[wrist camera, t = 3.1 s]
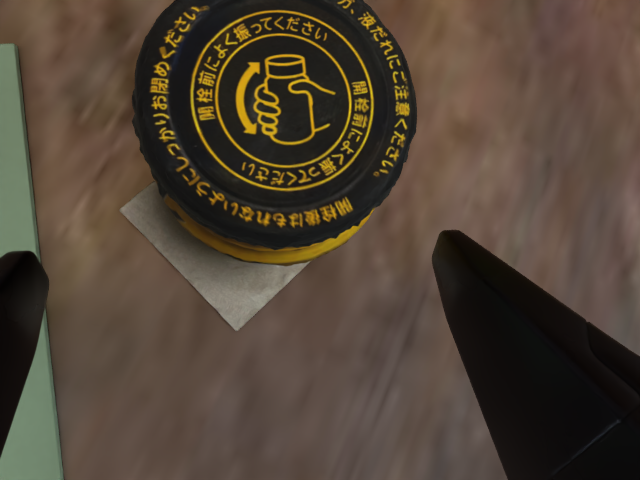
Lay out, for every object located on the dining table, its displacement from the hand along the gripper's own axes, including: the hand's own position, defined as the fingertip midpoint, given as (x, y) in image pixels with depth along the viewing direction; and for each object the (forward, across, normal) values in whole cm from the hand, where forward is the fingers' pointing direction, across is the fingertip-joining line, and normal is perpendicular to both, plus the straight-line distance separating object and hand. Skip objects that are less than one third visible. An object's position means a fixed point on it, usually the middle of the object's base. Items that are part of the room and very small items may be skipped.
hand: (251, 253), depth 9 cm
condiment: (+8, 0, +5) cm, 10 cm away
